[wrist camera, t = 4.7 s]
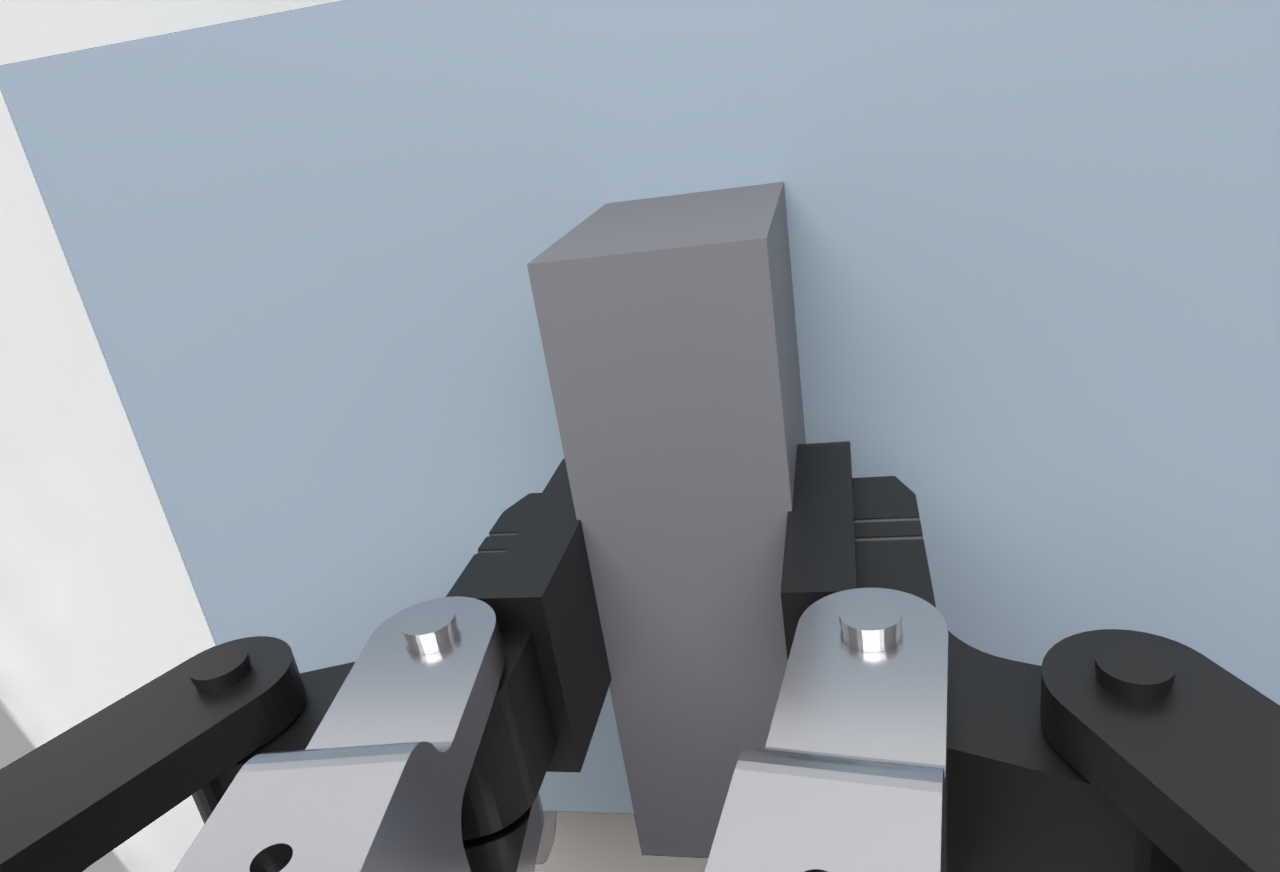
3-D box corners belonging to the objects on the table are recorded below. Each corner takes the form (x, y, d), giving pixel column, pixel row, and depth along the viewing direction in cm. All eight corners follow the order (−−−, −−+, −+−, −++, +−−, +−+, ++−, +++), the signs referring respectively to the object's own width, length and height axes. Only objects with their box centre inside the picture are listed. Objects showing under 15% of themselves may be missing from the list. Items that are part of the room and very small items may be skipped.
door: (1564, -213, 10) (2193, -423, 5) (1352, 850, 16) (1565, 1184, 11) (73, 63, 15) (-278, 79, 10) (339, 811, 21) (196, 1038, 16)
